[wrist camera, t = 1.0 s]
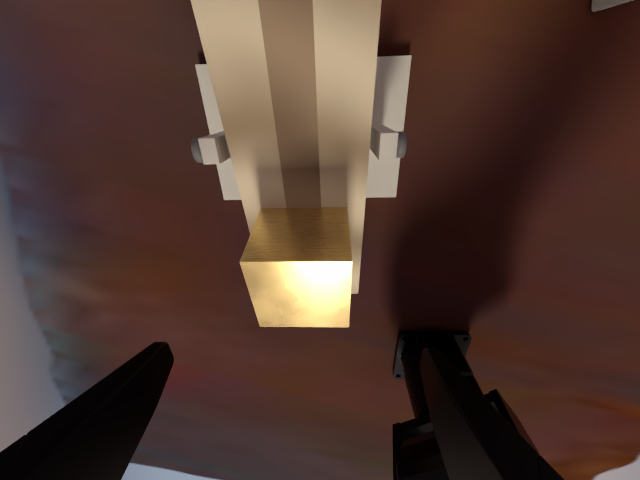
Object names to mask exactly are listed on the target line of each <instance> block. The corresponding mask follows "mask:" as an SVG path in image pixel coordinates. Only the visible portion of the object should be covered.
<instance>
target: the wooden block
mask: <svg viewBox="0 0 640 480" xmlns="http://www.w3.org/2000/svg"><path fill="white" fill-rule="evenodd" d="M240 265H241V268H242V271H243V274H244V277H245V281H246V284H247V287H248V290H249V293H250V297H251V300H252V303H253V306H254V309H255V313H256V316H257V319H258V322H259V325H260V327H349V315H350V297H351V278H352V252H351V241H350V230H349V219H348V209H347V207H325V208H261V209H260V212H259V214H258V217H257V219H256V222H255V224H254V227H253V229H252V232H251V234H250V237H249V240H248V242H247V245H246V247H245V250H244V252H243V255H242V257H241V260H240Z"/></svg>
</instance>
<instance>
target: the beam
mask: <svg viewBox="0 0 640 480" xmlns="http://www.w3.org/2000/svg"><path fill="white" fill-rule="evenodd" d="M381 1H382V0H191V4H192V7H193V11H194V15H195V19H196V23H197V27H198V31H199V35H200V39H201V43H202V47H203V51H204V55H205V58H206V62H207V66H208V70H209V74H210V78H211V82H212V86H213V90H214V94H215V98H216V102H217V105H218V109H219V113H220V117H221V121H222V125H223V129H224V133H225V137H226V141H227V145H228V149H229V152H230V156H231V160H232V164H233V168H234V172H235V176H236V180H237V184H238V188H239V192H240V196H241V199H242V203H243V207H244V211H245V215H246V219H247V223H248V227H249V231H250V234H251V232H252V229H253V227H254V224H255V222H256V219H257V217H258V214H259V212H260V209H261V208H325V207H347V209H348V219H349V230H350V241H351V252H352V278H351V294H358V288H359V275H360V263H361V250H362V238H363V226H364V213H365V201H366V188H367V176H368V163H369V151H370V138H371V126H372V113H373V101H374V88H375V76H376V63H377V51H378V38H379V26H380V13H381Z"/></svg>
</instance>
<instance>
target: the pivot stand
mask: <svg viewBox="0 0 640 480" xmlns="http://www.w3.org/2000/svg"><path fill="white" fill-rule="evenodd" d="M411 56H412V55H407V56H384V57H377V63H376V76H375V88H374V101H373V113H372V126H371V138H370V151H369V163H368V176H367V188H366V198H369V197H396V192H397V183H398V174H399V165H400V158H403V157H404V155H405V152H406V145H407V136H406V132H405V131H403V129H404V119H405V110H406V101H407V92H408V83H409V74H410V65H411ZM195 66H196V71H197V76H198V80H199V85H200V90H201V94H202V99H203V104H204V108H205V113H206V118H207V122H208V127H209V132H210V135H208V136H205V137H195V138H193V139H192V142H191V151H192V154H193V157H194V159H195V160H196V161H197V162H198V163H204V164H217V169H218V174H219V178H220V183H221V188H222V192H223V197H224V200H242V199H241V196H240V192H239V188H238V184H237V180H236V176H235V172H234V168H233V164H232V160H231V156H230V152H229V149H228V145H227V141H226V137H225V133H224V129H223V125H222V121H221V117H220V113H219V109H218V105H217V102H216V98H215V94H214V90H213V86H212V82H211V78H210V74H209V70H208V66H207V64H198V65H195Z"/></svg>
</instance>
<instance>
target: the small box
mask: <svg viewBox="0 0 640 480" xmlns="http://www.w3.org/2000/svg"><path fill="white" fill-rule="evenodd" d="M630 1H633V0H592V7H591V10H592V12H596V11H600V10H604V9H607V8H610V7H613V6H617V5H620V4H623V3H627V2H630Z"/></svg>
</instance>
